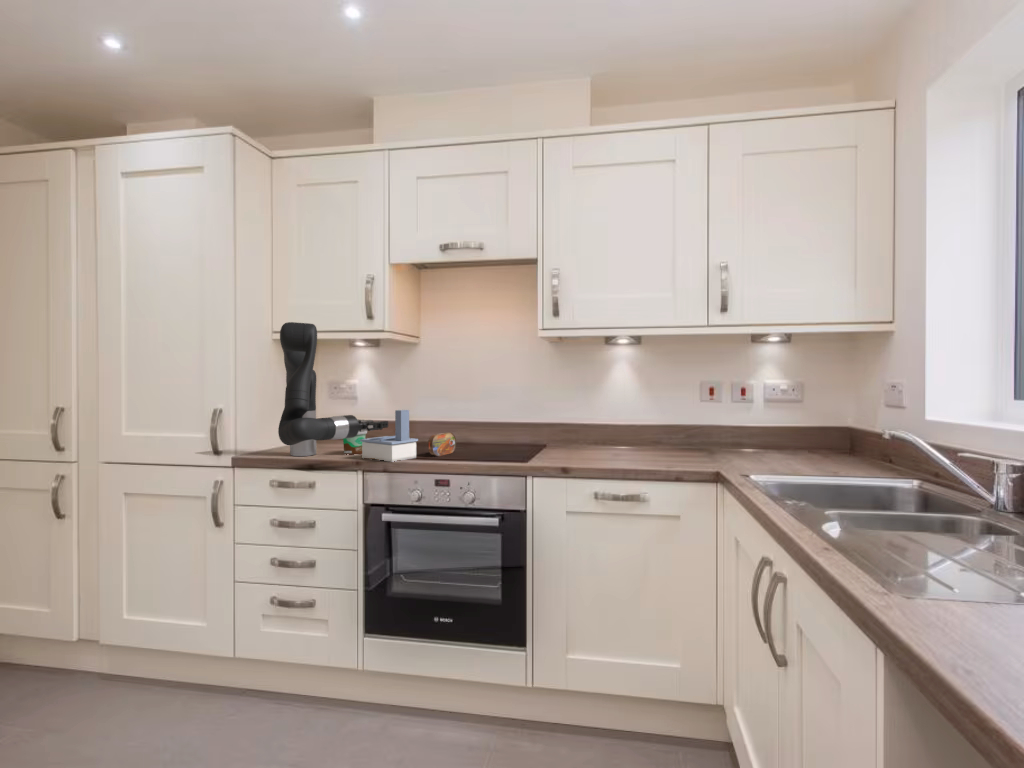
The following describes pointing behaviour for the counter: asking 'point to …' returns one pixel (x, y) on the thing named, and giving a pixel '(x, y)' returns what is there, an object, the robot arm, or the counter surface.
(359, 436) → the food container
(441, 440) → the tin
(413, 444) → the tub
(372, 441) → the lid
